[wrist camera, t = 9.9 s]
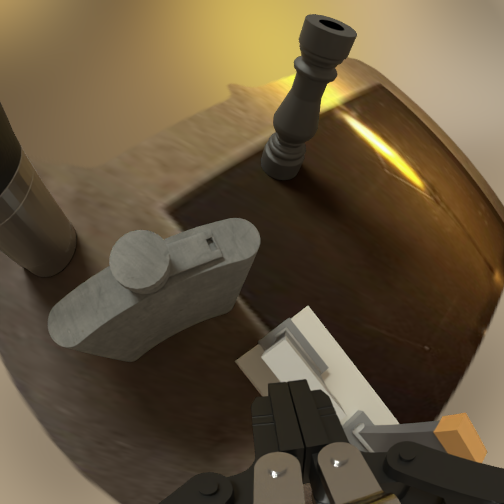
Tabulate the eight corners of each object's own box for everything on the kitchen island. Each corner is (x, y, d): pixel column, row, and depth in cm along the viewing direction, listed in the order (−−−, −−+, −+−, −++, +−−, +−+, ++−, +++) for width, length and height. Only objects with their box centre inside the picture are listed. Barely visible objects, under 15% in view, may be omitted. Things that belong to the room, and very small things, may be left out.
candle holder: (284, 187, 44) (346, 42, 21) (252, 164, 45) (292, 16, 22) (305, 165, 47) (367, 34, 24) (275, 145, 47) (319, 11, 25)
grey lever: (308, 379, 31) (322, 432, 15) (274, 335, 32) (261, 357, 17) (321, 369, 31) (346, 415, 16) (287, 326, 32) (285, 339, 17)
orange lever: (375, 463, 27) (479, 467, 14) (349, 433, 28) (456, 429, 15) (383, 453, 28) (487, 451, 15) (358, 422, 29) (465, 412, 16)
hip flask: (124, 366, 31) (38, 351, 13) (109, 335, 32) (20, 288, 14) (239, 306, 36) (277, 230, 18) (222, 278, 37) (243, 180, 19)
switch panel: (340, 483, 28) (349, 489, 25) (233, 359, 33) (235, 358, 31) (396, 427, 32) (408, 429, 29) (302, 306, 37) (310, 301, 35)
